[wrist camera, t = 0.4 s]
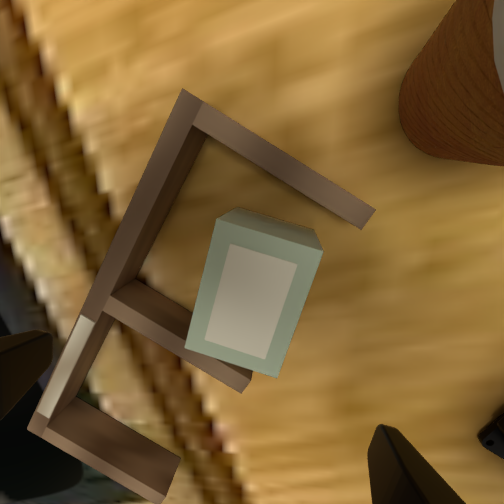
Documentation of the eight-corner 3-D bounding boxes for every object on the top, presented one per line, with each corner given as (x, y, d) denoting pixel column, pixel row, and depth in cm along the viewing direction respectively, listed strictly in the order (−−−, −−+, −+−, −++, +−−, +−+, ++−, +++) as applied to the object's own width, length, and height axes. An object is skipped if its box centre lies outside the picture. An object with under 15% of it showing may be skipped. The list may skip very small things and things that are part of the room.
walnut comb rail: (361, 204, 17) (376, 209, 14) (174, 467, 24) (158, 507, 21) (200, 103, 17) (181, 87, 14) (58, 398, 24) (25, 430, 21)
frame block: (313, 229, 18) (323, 252, 13) (280, 325, 20) (276, 379, 15) (237, 206, 18) (215, 219, 13) (211, 303, 20) (183, 349, 15)
